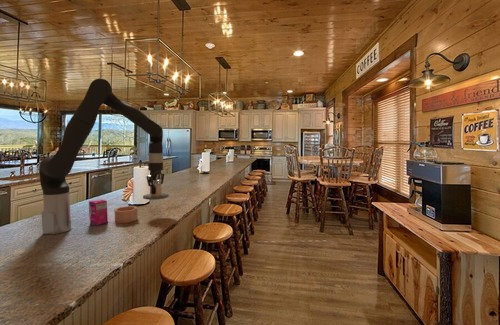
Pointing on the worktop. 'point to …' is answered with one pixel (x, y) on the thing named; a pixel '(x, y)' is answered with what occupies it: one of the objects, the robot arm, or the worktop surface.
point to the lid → (157, 195)
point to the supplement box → (98, 212)
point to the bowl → (125, 214)
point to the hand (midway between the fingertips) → (155, 192)
